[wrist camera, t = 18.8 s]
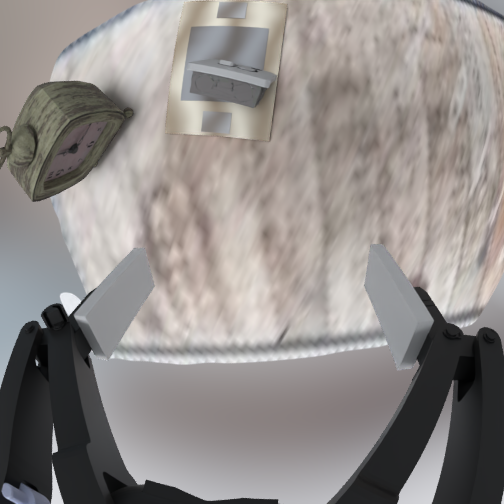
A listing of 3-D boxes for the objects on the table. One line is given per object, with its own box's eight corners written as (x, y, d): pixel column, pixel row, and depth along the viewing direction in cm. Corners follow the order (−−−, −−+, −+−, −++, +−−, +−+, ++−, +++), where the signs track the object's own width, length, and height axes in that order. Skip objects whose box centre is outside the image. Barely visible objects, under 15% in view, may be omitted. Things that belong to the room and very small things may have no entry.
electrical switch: (277, 75, 30) (275, 66, 22) (266, 108, 33) (260, 110, 25) (212, 59, 30) (190, 48, 22) (201, 91, 32) (177, 90, 25)
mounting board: (287, 7, 26) (287, 3, 25) (269, 141, 36) (269, 141, 35) (186, 5, 26) (183, 1, 25) (168, 133, 36) (164, 133, 35)
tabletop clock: (97, 176, 40) (-14, 234, 18) (69, 145, 38) (-42, 184, 15) (145, 110, 35) (17, 118, 13) (112, 79, 32) (-13, 74, 10)
